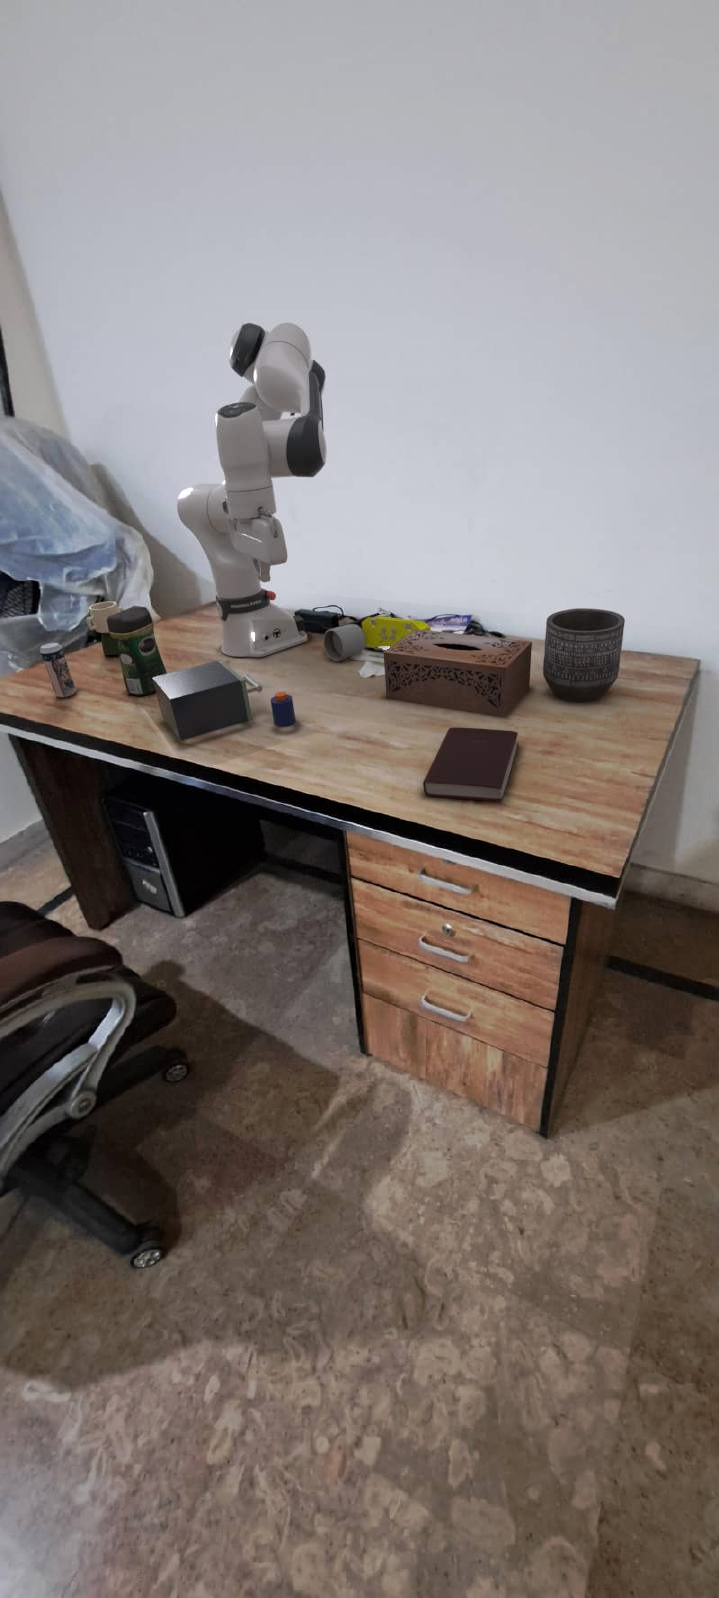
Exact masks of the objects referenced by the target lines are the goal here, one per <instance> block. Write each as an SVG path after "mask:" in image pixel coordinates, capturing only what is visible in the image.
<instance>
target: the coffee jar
mask: <svg viewBox="0 0 719 1598" xmlns="http://www.w3.org/2000/svg"><path fill="white" fill-rule="evenodd" d="M107 624H108V630H109V633H110V635H111V637H112V638H113V639H114V641H115V644H116V647H117V650H118V654H117V655H118V658H119V662H120V668H121V672H122V678H123V682H124V687H125V690H126V692H127V693H128V694H131V696H137V697H140V696H148V695H151V694H153V693H156V691H155V687H154V683H153V679H152V677H156V676H160V675H164V674H168V672H167V669H166V667H165V664H164V661H163V659H162V656H161V653H160V651H159V650H160V649H159V647H158V644H157V641H156V637H155V625H154V620H153V617H152V615H151V612H150V611H149V609H148V608H147V607H145V606H140V605H139V606H138V605H133V606H130V607H128V608H125V609H124V610H123V611H121V612H120V611H119V613H116V614H114V615H111V616H108V618H107Z"/></svg>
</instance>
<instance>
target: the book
mask: <svg viewBox="0 0 719 1598" xmlns="http://www.w3.org/2000/svg"><path fill="white" fill-rule="evenodd" d="M518 735H519V733H518V732H517V731H513V730H504V729H491V728H490V729H489V728H477V727H476V728H475V727H458V726H457V727H449V728H448V729H447V731H446V733H445V735H444V737H443V739H442V742H441V744H440V746H439V749H438V751H437V753H436V755H435V756H434V759H433V762H432V763H431V764H430V767H429V769H428V771H427V773H426V775H425V778H424V780H423V782H422V786H423V792H424V795H425V796H430V797H435V798H436V797H437V798H451V799H463V800H464V799H465V800H479V801H491V802H502V801H503V800H504V797H505V793H506V789H507V786H508V782H509V779H510V775H511V771H512V768H513V764H514V760H515V757H516V754H517V751H518V747H519V742H517V738H518Z"/></svg>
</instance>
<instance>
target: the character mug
mask: <svg viewBox="0 0 719 1598" xmlns="http://www.w3.org/2000/svg"><path fill="white" fill-rule="evenodd" d="M123 610H125V609H124V608H123V606H119V607H118V604H117V602H116V601H101V602H97V603H93V604H91V605H89V606H88V612H89V615H90V616H87V617H86V619H85V620H86V625H87V627H88V629H89V631H94V630H95V632H97V633H100V634H101V635H100V638H101V639H100V640H101V646H102V647H101V648H102V651H103V655H106V656H107V655H108V656H117V655H119V654H118V650H117V647H116V644H115V641H114V639H113V638H112V637H111V635H110V633H109V630H108V624H107V618H108V616H111V615H114V614H116V613H119V612H121V611H123Z"/></svg>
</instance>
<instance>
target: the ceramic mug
mask: <svg viewBox="0 0 719 1598" xmlns="http://www.w3.org/2000/svg"><path fill="white" fill-rule="evenodd" d="M344 625H345V624H344ZM340 626H341V627H338V626H336V627H337V628H333V627H332V628H333V629H329V630H325V633H324V636H323V640H322V641H323V649H324V652H325V653H326V655H327V656H328V658H329V659H330V660H331V661H334V662H340V661H343V660H346V659H348V658H351V657H354V656H356V655H358V654H360V653H362V652H363V651H364V650H365V648H366V647H365V646H366V636H365V633H364V631H363V630H362V626H360V625H359V624H349V625H345V626H342V625H340Z"/></svg>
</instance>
